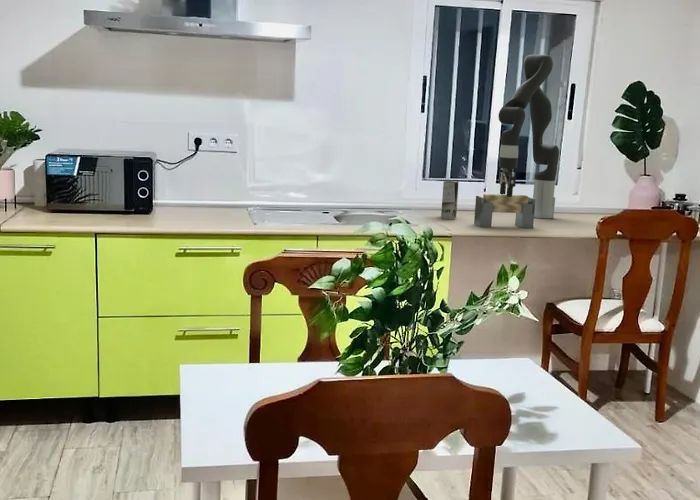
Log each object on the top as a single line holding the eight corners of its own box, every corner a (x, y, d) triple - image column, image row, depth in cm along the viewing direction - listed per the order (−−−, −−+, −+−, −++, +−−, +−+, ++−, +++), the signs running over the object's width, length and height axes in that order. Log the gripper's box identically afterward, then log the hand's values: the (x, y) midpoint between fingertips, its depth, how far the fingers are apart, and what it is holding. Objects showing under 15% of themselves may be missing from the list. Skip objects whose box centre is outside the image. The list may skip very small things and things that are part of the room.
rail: (523, 211, 317) (524, 195, 316) (526, 213, 313) (528, 196, 312) (482, 210, 315) (483, 194, 314) (485, 212, 311) (486, 195, 310)
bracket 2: (526, 225, 321) (528, 197, 318) (533, 228, 313) (535, 199, 311) (515, 224, 320) (517, 196, 318) (521, 227, 312) (524, 199, 310)
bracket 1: (479, 227, 310) (481, 198, 308) (473, 224, 318) (476, 195, 315) (491, 227, 311) (493, 198, 308) (485, 224, 318) (487, 196, 316)
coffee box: (455, 219, 328) (457, 182, 325) (440, 218, 330) (442, 181, 327) (456, 216, 337) (459, 180, 334) (442, 215, 338) (444, 180, 335)
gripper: (523, 157, 303) (520, 197, 307) (511, 155, 317) (508, 193, 320) (505, 157, 302) (502, 197, 306) (494, 154, 316) (491, 193, 319)
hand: (505, 195), depth 313 cm, fingers open, 8 cm apart
